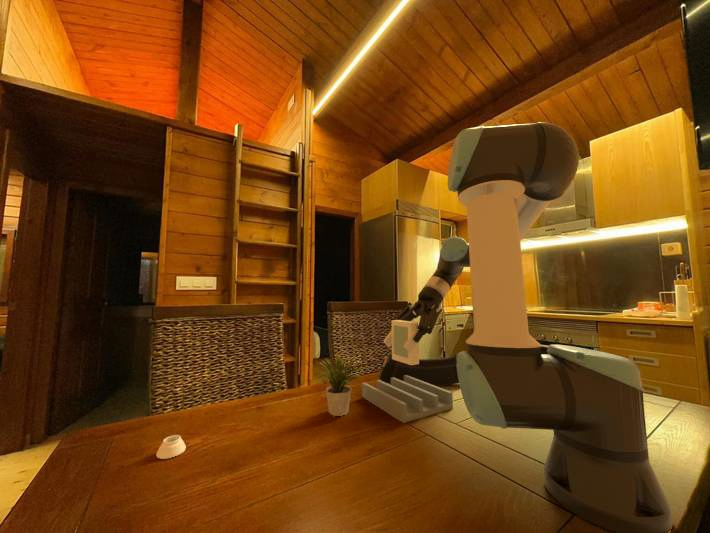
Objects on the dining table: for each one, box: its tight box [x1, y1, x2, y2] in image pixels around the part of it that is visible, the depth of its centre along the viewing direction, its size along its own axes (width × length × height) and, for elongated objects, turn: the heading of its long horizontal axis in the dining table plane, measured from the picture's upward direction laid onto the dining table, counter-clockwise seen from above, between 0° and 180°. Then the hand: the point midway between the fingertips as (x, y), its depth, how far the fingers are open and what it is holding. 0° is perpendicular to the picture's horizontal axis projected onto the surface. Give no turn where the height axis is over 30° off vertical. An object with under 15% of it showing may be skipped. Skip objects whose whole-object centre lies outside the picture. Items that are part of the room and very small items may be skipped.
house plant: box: [318, 350, 366, 417], centre depth 77 cm, size 14×14×16 cm
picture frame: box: [391, 319, 420, 365], centre depth 86 cm, size 3×9×12 cm, turn 30°
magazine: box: [378, 353, 459, 387], centre depth 101 cm, size 17×3×30 cm
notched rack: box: [361, 375, 454, 424], centre depth 85 cm, size 18×20×4 cm
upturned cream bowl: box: [155, 434, 187, 460], centre depth 58 cm, size 5×3×5 cm
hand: (396, 346), depth 84 cm, fingers closed on picture frame, 9 cm apart
